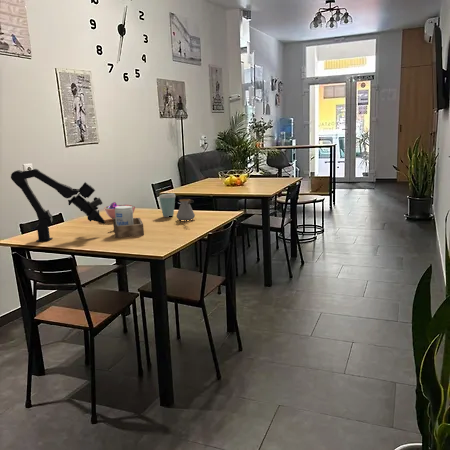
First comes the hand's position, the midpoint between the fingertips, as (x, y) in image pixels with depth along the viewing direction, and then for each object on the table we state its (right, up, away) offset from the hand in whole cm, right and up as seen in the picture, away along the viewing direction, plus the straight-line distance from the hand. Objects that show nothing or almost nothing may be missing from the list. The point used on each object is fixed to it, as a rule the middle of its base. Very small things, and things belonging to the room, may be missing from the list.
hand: (105, 223), depth 246 cm
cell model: (-1, +2, +43) cm, 43 cm away
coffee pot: (+43, +1, +29) cm, 52 cm away
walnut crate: (+12, -5, +5) cm, 14 cm away
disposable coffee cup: (+29, +4, +47) cm, 55 cm away
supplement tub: (+10, -6, +4) cm, 12 cm away
